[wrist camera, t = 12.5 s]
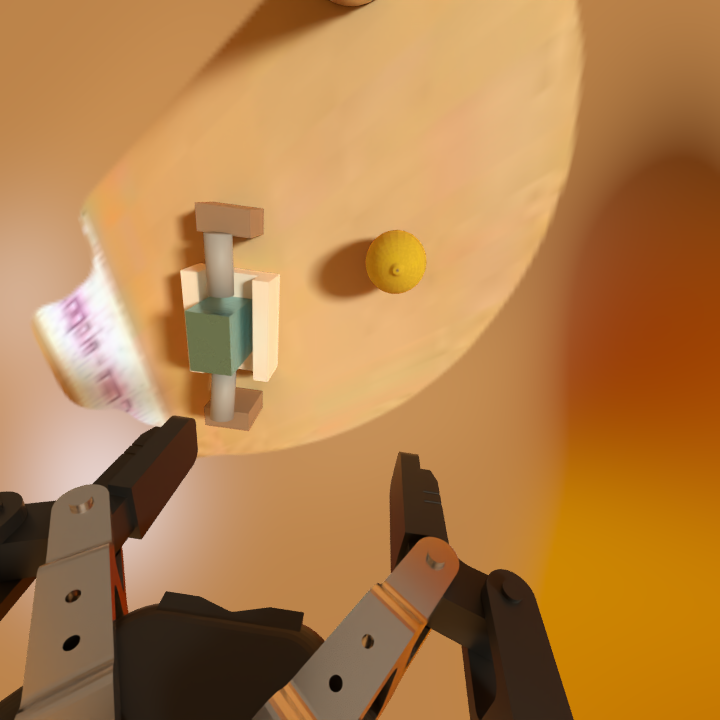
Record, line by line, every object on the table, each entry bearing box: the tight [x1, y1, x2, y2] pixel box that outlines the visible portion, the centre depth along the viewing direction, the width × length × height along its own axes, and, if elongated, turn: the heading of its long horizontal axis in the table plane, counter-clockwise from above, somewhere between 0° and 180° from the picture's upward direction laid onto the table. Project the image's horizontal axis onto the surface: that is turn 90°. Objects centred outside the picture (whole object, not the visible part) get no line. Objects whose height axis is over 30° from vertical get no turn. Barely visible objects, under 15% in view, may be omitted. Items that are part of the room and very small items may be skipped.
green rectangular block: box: [185, 296, 253, 376], centre depth 35 cm, size 6×4×6 cm, turn 173°
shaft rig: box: [180, 202, 280, 431], centre depth 36 cm, size 23×9×7 cm, turn 173°
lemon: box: [365, 230, 426, 294], centre depth 32 cm, size 6×6×8 cm
